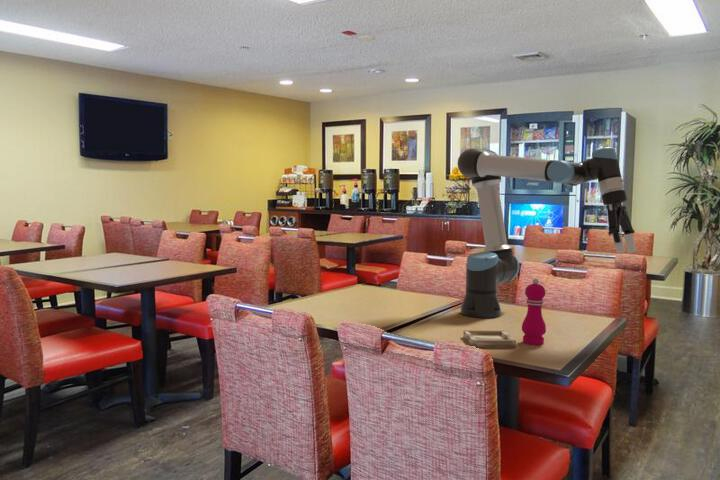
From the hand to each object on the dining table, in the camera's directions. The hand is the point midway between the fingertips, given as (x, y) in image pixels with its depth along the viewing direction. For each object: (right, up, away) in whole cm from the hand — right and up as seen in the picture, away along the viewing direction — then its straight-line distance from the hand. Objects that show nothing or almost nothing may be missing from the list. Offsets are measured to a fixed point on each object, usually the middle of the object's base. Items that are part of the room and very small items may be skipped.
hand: (626, 252), depth 193 cm
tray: (-50, -27, -16) cm, 60 cm away
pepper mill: (-36, -28, -15) cm, 48 cm away
